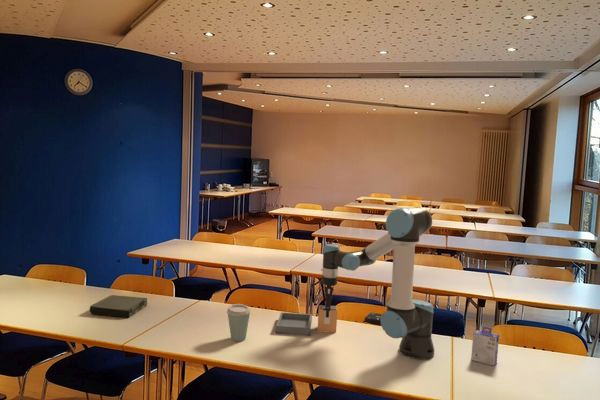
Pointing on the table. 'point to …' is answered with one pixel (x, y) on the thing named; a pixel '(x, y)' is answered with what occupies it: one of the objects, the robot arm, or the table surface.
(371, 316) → the disk drive
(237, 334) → the disposable coffee cup
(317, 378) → the table surface
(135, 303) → the network switch
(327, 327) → the toner caddy
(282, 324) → the tray
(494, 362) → the ink cartridge box
